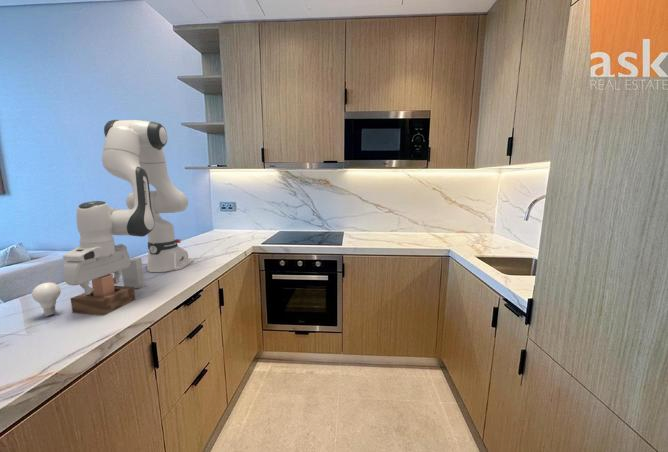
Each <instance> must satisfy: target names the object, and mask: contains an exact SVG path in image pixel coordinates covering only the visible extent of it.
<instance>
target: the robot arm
mask: <svg viewBox="0 0 668 452" xmlns="http://www.w3.org/2000/svg"><path fill="white" fill-rule="evenodd" d="M103 133H104V137H105V139H104V143H103V148H102V149H103V150H102V156H101V161H102V166H103V168H104V169H105V170H106V172H108V173H109V174H110V175H112V176H113V177H116V178H118V179H121V180H123V181H126V182H128V183H130V185H131V187H132V192H130V193H129V194H128V195H127V197H126V200H125V204H126V207H127V209H126V208H125V209H121V208H115V207H111V206H109V205H108V203H107V201H102V200H94V201H93V200H91V201H86V202H83V203H81V204H78V206H77V209H76V226H77V227H76V228H77V231H78V233H79V246H76V247H75V248H73V249H72V250H70V251H68V252H66V253H64V254H63V256H62V259H63V261H66V262H65V263H64V264H63V278H64V282H65V283H66V284H67V285H69V286H80V287H81V288H82V289H83V290H84V293H85V294H91V293H93V292H94V291H93V290H94V288H93V287H91V286H89V285H90V282H92V280H94V279H97V278H100V277H102V276H105V275H108V274H113V282H114V285H116V284H119V283H120V278H121V275H122V269H125V268H128V267H129V266H130V264H131V263H130V258H131V257H130V255H129V252H128V248H127V246H126V245H125V244H123V243H119V244H117V245H116V244H115V239H114V236H133V237H146V236H147V239H148V241H147V250H148V253H147V254H148V255H147V265H146V271H147V272H149V273H164V272H171V271H177V270H182V269H184V268H186V267H187V266H188V265H190V264H192V263H193V262H194V261H195V260H194V259H193V258H190V257H189V253H188V251H187V250H186V249H183V248H181V247H180V246H179V244H180V243H182V239H180V238H178V239H176V238H175V228H174V225H173V223H172V222H170V221H169V220H165V219H163V218H162V217H161V215H160V214H175V213H181V212H184V211H186V209H187V207H188V205H189V200H188V197H187V195H186V194H185V193H184V192H183V191H182V190H180V189H178V188H177V187H176V186H175V185H174V184H173V182H172V181H171V179H170V176H169V173H168V168H167V161H166V157H165V153H164V149H163V148H164V147H165V146H166V145H167V143H168V134H167V130H166V128H165V126H163V125H162V123H159V122H155V121H148V120H139V119H130V120H129V119H124V120H121V119H120V120H119V119H111V120H109V121H107V122H106V123H105V124H104V127H103ZM150 186H152V187H154V188H155V190H151V189H150Z"/></svg>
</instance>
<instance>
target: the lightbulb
mask: <svg viewBox="0 0 668 452" xmlns="http://www.w3.org/2000/svg"><path fill="white" fill-rule="evenodd" d="M61 290H62V289H61V287H60V286H59V284H57V283H55V282H50V281H49V282H43V283H40V284H38V285H37V286H35V287H34V288H33V290H32V292H31V297H32V299H33V300H34V301H35V302H37V303H38V304H39V305H40V307H41V308H42V310H43V315H44V316H47V317H51V316H53V315H54V314H56V313H57V312H56V304H57V300H58V298H59V297H60V296H61V295H60V294H61Z"/></svg>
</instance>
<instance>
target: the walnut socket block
mask: <svg viewBox="0 0 668 452" xmlns="http://www.w3.org/2000/svg"><path fill="white" fill-rule="evenodd" d="M114 290H115V292H114V293H112V294H109V295H107V296H105V297H94V294H93V293H91V294H85V292H83V293H80V294H78V295H76V296H74V297H71V298H70V303H71V312H72V313H75V314H84V315H96V316H98V315H99V316H105V315H108V314H110V313H111V312H114V311H116V310H118V309H120V308H122V307H124V306H125V305H128V304H130V303H132V302H134V301H136V293H135V288H134V287H127V286H124V285H114Z"/></svg>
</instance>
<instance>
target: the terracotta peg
mask: <svg viewBox="0 0 668 452" xmlns="http://www.w3.org/2000/svg"><path fill="white" fill-rule="evenodd" d="M113 278H114V273H111V274H108V275H105V276H102V277H100V278H97V279H94V280H91V285H92V287H91V288H94V290H93V291H94V292H93V294H94V297H105V296H107V295H109V294H112V293H114V292H115V290H114V286H115V284H114V282H113Z"/></svg>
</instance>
